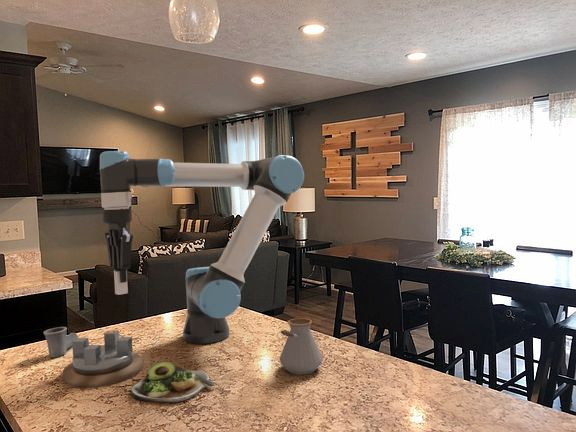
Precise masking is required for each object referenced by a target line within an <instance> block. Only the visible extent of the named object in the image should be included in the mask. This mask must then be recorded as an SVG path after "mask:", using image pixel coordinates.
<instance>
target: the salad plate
mask: <svg viewBox="0 0 576 432" xmlns="http://www.w3.org/2000/svg"><path fill="white" fill-rule="evenodd" d="M215 385H216V383H215V382H214V381H211V380H210V378H209V375H208V374H207V373H206V372H204V371H201V370H190V369H189V370H188V369H185V368H183V367H181V366H178V365H176V364H175V363H173V362H171V361H168V360H167V361H166V360H165V361H160V362H157V363H155V364H153V365H152V366H150V367H149V368H148V369H147V373H146V377H144V378H143V379H142V380H140V381H139V382H138V383H136V384H134V385H133V386H132V387H131V388H130V393H131V395H132V396H133V397H134V398H135V399H137V400H141V401H144V402H153V403H177V402H183V401H186V400H189V399H192V398H194V397H195V396H196V395H198V394H199V393H200V392H201V391H202V390H204V389H205V388H207V387H213V386H215ZM173 393H174V394H175V393H179V394H180V393H181V394H182V393H184V394H183V395H180V396H174V397H170V398H166V397H164V396H167V395H169V394H173ZM162 397H164V398H162Z"/></svg>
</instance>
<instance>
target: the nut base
mask: <svg viewBox="0 0 576 432" xmlns="http://www.w3.org/2000/svg"><path fill="white" fill-rule="evenodd" d="M143 363H144V361H143V357H142V356H141V354H138V353H136V352H133V361H132V363H131V364H130V365H129V366H127V367H125V368H123V369H121V370H118V371H115V372H111V373H107V374H101V375H81V374H77V373H75V372H74V371H73V361H72V362H70V363H68V364H67V365H66V366H65V367H64V368H63V369H62V381H63V383H64V384H65V385H66V386H68V387H71V388H72V387H73V388H77V389H79V388H80V389H94V388H103V387H108V386H112V385H116V384H119V383H123V382H125V381H127V380H130V379H132V378H133V377H136V376H137V375H138V374H139V373H141V371H142V370H143V368H144V364H143Z"/></svg>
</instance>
